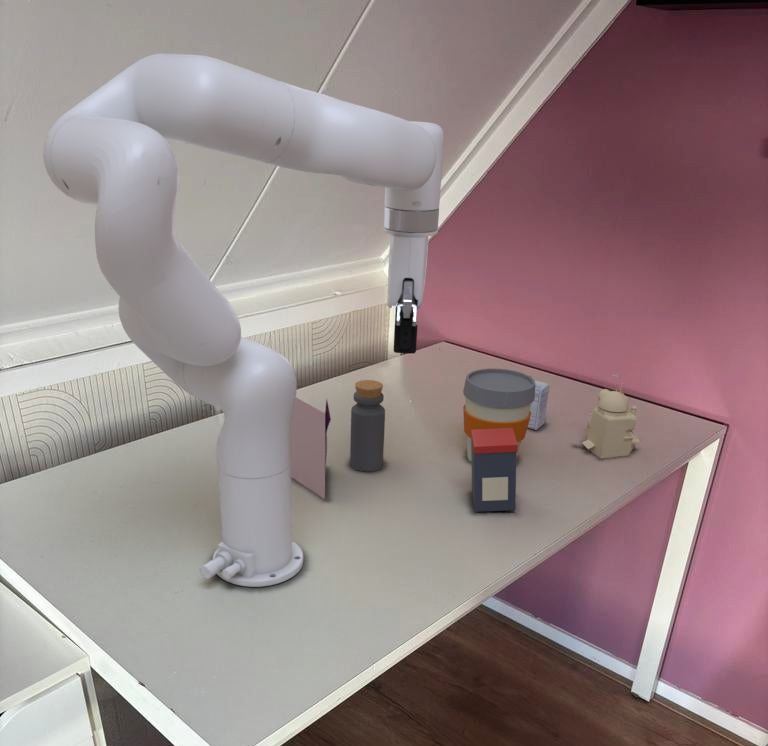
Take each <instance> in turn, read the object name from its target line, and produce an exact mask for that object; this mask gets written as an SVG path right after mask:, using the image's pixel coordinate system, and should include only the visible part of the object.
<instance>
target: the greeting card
mask: <svg viewBox="0 0 768 746" xmlns="http://www.w3.org/2000/svg"><path fill="white" fill-rule="evenodd" d="M331 419H332V418H331V413H330V408H329V402H328V399H325V410H324V411H322V410H320V409H318V408H316V407H314V406H313V405H311V404H309V403H308V402H305V401H303V399H300V398H298V397H296V398H295V403H294V408H293V413H292V419H291V429H290V466H291V479H294V480H295V481H296V482H298V483H299V484H301V485H303V487H305V488H307V489H308V490H310V491H311V492H312V493H314V494H315V495H317V496H319V497H320V498H322V499H323V500H326V481H327V480H326V474H327V473H326V471H327V469H326V467H327V458H328V457H327V456H328V435H327V433H328V429H329V426H330V422H331Z"/></svg>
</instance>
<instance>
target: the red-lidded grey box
mask: <svg viewBox="0 0 768 746" xmlns="http://www.w3.org/2000/svg"><path fill="white" fill-rule="evenodd" d="M517 452H518V444H517V440H516V437H515V434H514V430H513V428H496V429H474V430H471V458H472V462H471V498H472V503H473V504H472V505H473V511H474V513H478V512H479V513H480V512H504V511H507V512H508V511H516V501H517V500H516V498H517V495H516V494H517V459H516V453H517ZM518 453H519V452H518Z"/></svg>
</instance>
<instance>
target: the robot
mask: <svg viewBox="0 0 768 746" xmlns="http://www.w3.org/2000/svg"><path fill="white" fill-rule="evenodd" d="M610 376H612V377H615V378H617V379H616V383H619V373H616V374H610ZM620 384H621V385H620V386H618V387H619V391H618V388H616V389H615V390H610V389H607V388H604V389H601V391H599V392H598V395H597V397H598V404H597V405H596V406H594V408H593V410H592V413H589V415H590V416H591V417H590V421H586V432H587V437H586V440H585V441H584V440H583V441H582V442H581V443H580V444H578V446H581V445H582V446H581V447H582V448H584V447H585V448H586V449H587V454H589V453H590V452H591V453H592V454H593V455H595V456H596V457H598V458H599V459H609V458H618V457H628V456H630V453H632V451H633V450H634V449H635V445H637V444H641V440H640V439H639V437H637V436H636V435H635V434H634V430H635V429H636V426H637V423H638V417H637V416H636V412H637V409H638V407H637V406H636V405H635V404H634V405H631V406H630V396H628V397H627V396H626V395H625V394H624V393H623V391H622V388H623V385H624V383H623V382H621V383H620ZM629 409H630V410H629ZM631 433H632V434H631Z"/></svg>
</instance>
